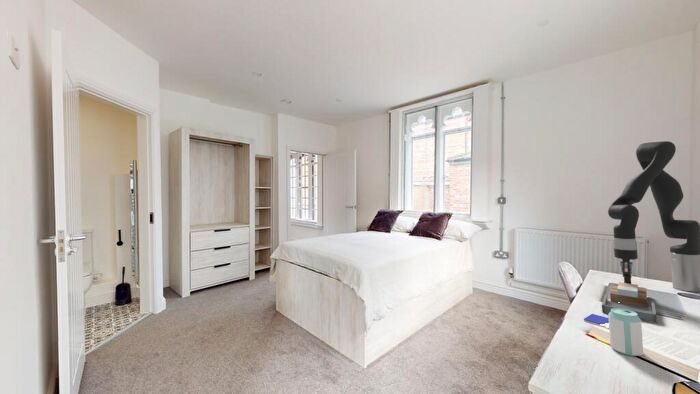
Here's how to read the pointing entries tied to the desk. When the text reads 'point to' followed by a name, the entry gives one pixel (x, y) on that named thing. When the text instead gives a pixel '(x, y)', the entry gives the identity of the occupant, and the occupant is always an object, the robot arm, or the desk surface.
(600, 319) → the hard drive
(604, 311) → the box
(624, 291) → the tile
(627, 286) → the tile
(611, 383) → the desk surface
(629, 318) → the can
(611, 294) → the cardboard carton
